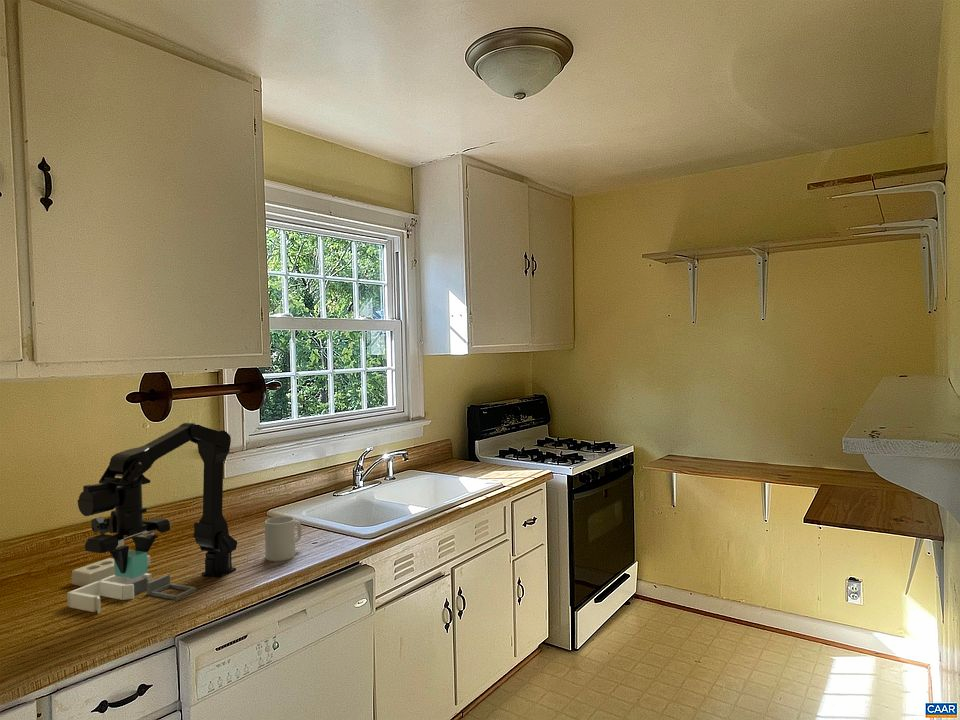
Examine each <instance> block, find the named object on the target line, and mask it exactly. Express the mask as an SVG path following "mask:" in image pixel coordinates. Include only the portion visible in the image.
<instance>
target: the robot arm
mask: <svg viewBox="0 0 960 720" xmlns="http://www.w3.org/2000/svg"><path fill="white" fill-rule="evenodd" d="M231 437H232V436H231V435H230V434H229V432H228V431H226V430H221V429H220V430H219V429H213V428H209V427H205V426H203V425H201V424H199V423H195V422H183V423H181V424H180V425H179V426H177V427H176V428H174V429H172V430H170V431H168V432H167V433H164V434H163V435H161V436H159V437H158V438H155V439H154V440H151V441H150V442H148V443H146V444H144V445H142V446H139V447H133V448H129V449H126V450H123V451H120V452H117V453H115V454H114V455H112V456H111V457H110V461H109V464H108V466H107V468H106V469H105V471H104V473H103V474H102V476H101V477H100V479H99V481H98V483H95V484H86V485H83V486H82V487H83V488H82V490H83V491H81V492H80V493H79V496H78V499H77V507H78V510H79V512H80V514H81V515H82V516H85V517H90V516H94V515H98V514H101V513H105V512H108V511H111V512H110V517H108V518H104V517H103V516H98V517H95V518H93V519H91V521H90V522H91V523H90V524H91V525H90V526H91V531H92V532H93V533H98V532H99V534H98V535H95V536H91V537H88V538H87V539H86V541H85V543H84V551H85V552H90V553H97V554H104V553H109V554H110V555H111V558H113V559H114V560H115V562H116V564H117V566H118V568H119V571H120V573H123V574H124V573H125V571H126V567H127V558H128V550H130V549H129V548H130V547H129V545H126V544H125V541H127V540H129V539H132V541H133V543H134V546H135V547H134V550H136V551H143V552H147V554H148V553H149V551H150V549H151V547H152V546H153V544H154V543H155V540H156V539H158V538H159V535H158V534H155V532H154V531H156V532H158V533H159V534H163V533H166V532H169V531H171V522H170V521H169V520H168V519H167V518H159V517H153V518H149V519H146V520H144V514H145V513H147V507H143V485H146V484H150V483H151V479H149V478H148V477H146V476H145V475H144V474H145V473H146V472H147V471H149V469H151V468H152V466H153V464H154V463H155V462H156V461H157V460H159V459H161V458H162V457H164V456H165V455H167V454H169V453H171V452H173V451H175V450H176V449H178V448H180V447H181V446H183V445H184V444H187V443H188V442H191V443H194V444H196V445H197V450H198V451H197V453H198V454H199V457H200V458H201V460H202V462H203V490H202V491H203V493H202V495H203V496H202V516H201V517H200V519H199V521H197V522H194V523H193V529H194V530H193V538H194V540H195V541H194V542H195V543H196V544H197V545H198V547H199V548H200V551H201V552H205V558H204V570H205V571H203V572H201V575H202V576H208V577H214V578H221V577H223V576H225V575H227V574H229V573H232V572H234V571H236V570H237V567H234V566H232V560H233V559H232V553H233V551H236V549H237V546H238V541H237V540H236V539H235V538H234V537H232V536H231V535H230V533H229V526H228V522H227V520H226V518H225V517H224V515H223V498H224V497H223V494H224V493H223V492H224V462H225V460H226V458H227V457H228V455H229V453H230V448H231V443H232V439H231ZM106 533H109V534H106ZM111 534H112V535H111Z"/></svg>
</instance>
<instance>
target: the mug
mask: <svg viewBox="0 0 960 720" xmlns="http://www.w3.org/2000/svg"><path fill="white" fill-rule="evenodd" d="M295 527H296V528H297V534H296V531H295V530H296V528H295ZM302 534H303V531H302V524H301V522H300V521H299V520H297V519H296V520H295V518H294V517H293V516H287V515H285V516H284V515H282V516H281V515H279V516H274V517H270V518H268V519H265V521H264V540H265V542H264V543H265V544H264V545H265V548H264V549H265V550H264V551H265V553H264V555H265V556H264V557H265V559H266V560H267V561H270V562H283V561H288V560H290V559H293V558H294V557H295V556H296V543H299V541H300V540H302V539H301V538H302Z"/></svg>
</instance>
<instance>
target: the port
mask: <svg viewBox="0 0 960 720" xmlns="http://www.w3.org/2000/svg"><path fill="white" fill-rule="evenodd" d="M152 577H153V576H152V573H150V572H149V573H145V574H143V575H140V576H138V577H136V578H133V579H132V578H126V577H121V576H115V575H112V576H109V577H107V578H104V579H102V580H99V581H96V582H94V583H91V584H88V585H86V586H80V587H79V588H76V589H73V590H70V591H68V592H67V595H66V596H67V607H68V608H71V609H76V610H82V611H85V612H92V613H96V612H97V614H98V615H99V614H102V608H101V607H102V606H101V597H105V598H106V597H107V598H110V599H111V598H112V599H116V600H121V601H123V600H124V601H125V600H134V599H135V595H137V594H139V593H141V592H144V591H147V584H146V583H148V582H150V581H152V580H153V579H152Z"/></svg>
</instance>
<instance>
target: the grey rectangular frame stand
mask: <svg viewBox="0 0 960 720" xmlns="http://www.w3.org/2000/svg"><path fill="white" fill-rule="evenodd" d="M146 584H147V588H146V595H147V596H152V597H158V598H164V599H170V600H175V601H177V600H179V599H181V598H183V597H185V596H188V595H190V594H192V593H194V592H196V591H197V586H196V587H195V586H190V585H183V584H177V583H173V582H172V583H171V575H170V574H165V575H162V576H160V577H158V578H155V579H152V581H150V582H148V583H146ZM168 589H177V590H184V591H181V592H180V593H178V594H173V593H172V594H170V593H167V592H166V593H165V592H163V591H165V590H168Z"/></svg>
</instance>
